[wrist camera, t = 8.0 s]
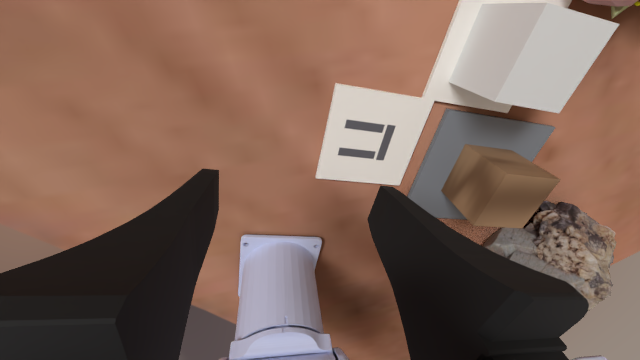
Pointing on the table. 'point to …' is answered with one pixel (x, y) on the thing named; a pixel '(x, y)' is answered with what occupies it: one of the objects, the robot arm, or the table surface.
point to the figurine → (615, 5)
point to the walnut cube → (497, 187)
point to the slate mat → (450, 143)
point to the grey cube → (530, 53)
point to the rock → (562, 248)
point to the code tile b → (452, 49)
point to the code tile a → (370, 135)
